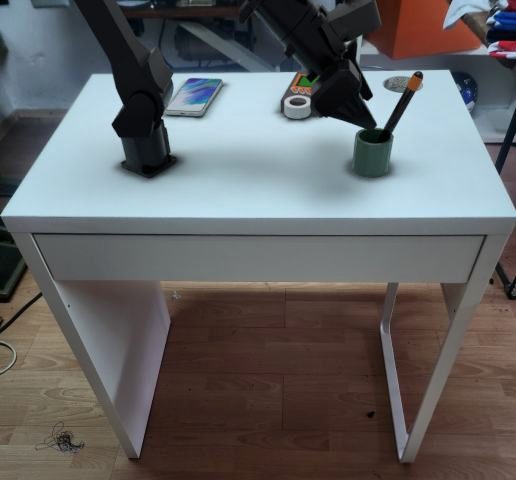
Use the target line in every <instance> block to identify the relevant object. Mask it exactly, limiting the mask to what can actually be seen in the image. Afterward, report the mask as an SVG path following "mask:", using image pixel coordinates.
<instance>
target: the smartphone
mask: <svg viewBox="0 0 516 480" xmlns="http://www.w3.org/2000/svg"><path fill="white" fill-rule="evenodd" d="M223 84H224V81H223V79H222V78H205V77H204V78H203V77H190V78H187V79H186V81H185V82H184V84H183V85H182V86H181V88H180V89H179V90H178V91H177V93H176V94H175V95H174V97H172V98H171V100H170V102H169V104H168V106H167V108H166V110H165V112H164V114H166V115H171V116H172V115H173V116H191V117H201V116H202V115H204V114H205V112H206V110H207V109H208V107H209V105H210V104H211V103H212V101H213V99H214V98H215V96H216V94H217V93H218V91H219V90H220V89H221V87H222V86H223Z"/></svg>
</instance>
